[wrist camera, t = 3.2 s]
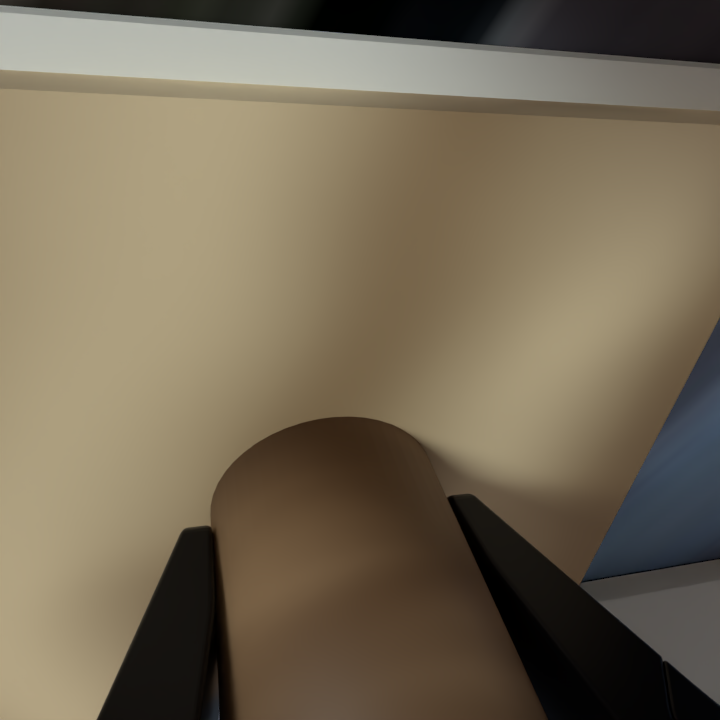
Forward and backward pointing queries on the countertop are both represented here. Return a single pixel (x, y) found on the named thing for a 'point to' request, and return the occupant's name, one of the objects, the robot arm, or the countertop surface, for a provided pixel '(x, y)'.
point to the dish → (672, 616)
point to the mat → (341, 61)
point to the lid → (327, 372)
